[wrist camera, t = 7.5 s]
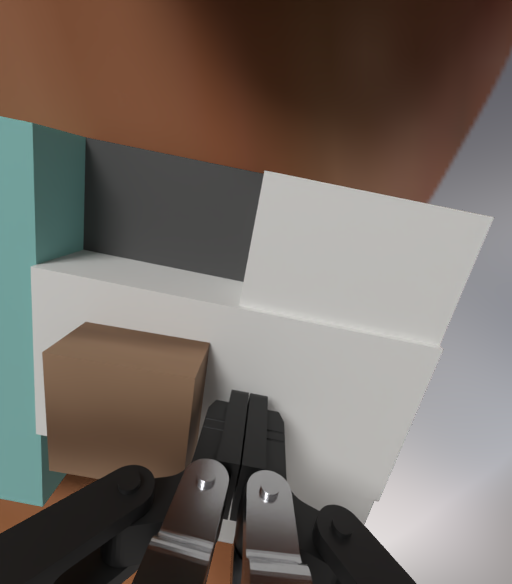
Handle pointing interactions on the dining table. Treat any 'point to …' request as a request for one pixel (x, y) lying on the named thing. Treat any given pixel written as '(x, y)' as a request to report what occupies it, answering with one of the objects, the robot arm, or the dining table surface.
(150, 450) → the walnut block
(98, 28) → the dining table surface
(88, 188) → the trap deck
